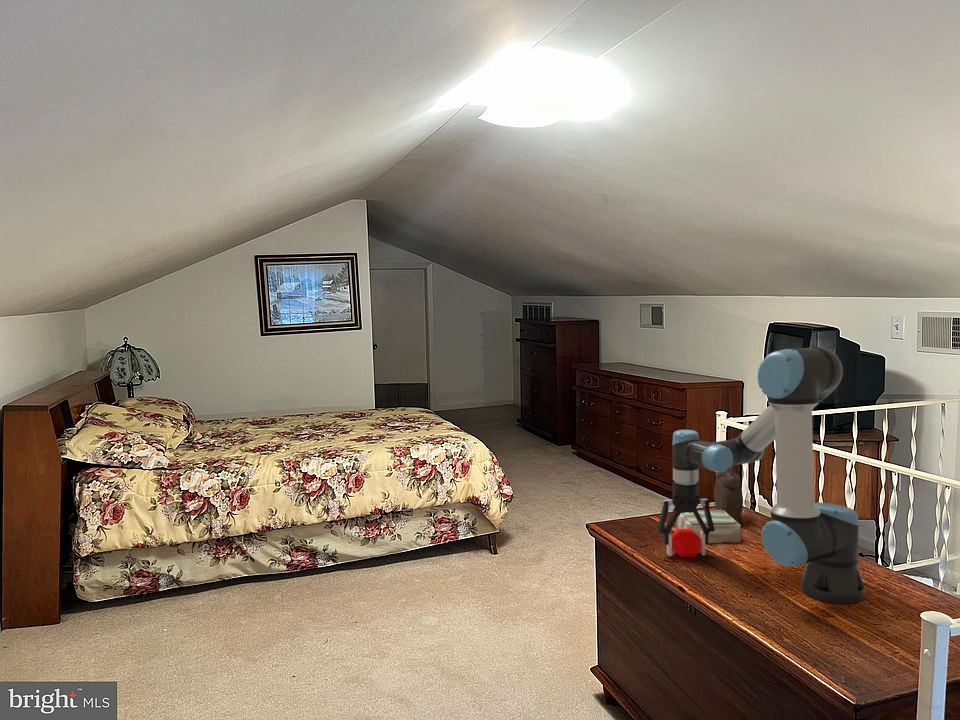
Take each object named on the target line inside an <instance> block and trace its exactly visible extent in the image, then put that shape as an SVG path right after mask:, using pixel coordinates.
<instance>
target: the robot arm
mask: <svg viewBox="0 0 960 720" xmlns="http://www.w3.org/2000/svg"><path fill="white" fill-rule="evenodd" d="M843 372H844V369H843V365H842V363H841V360H840V358H839V357H838V355H836V353H834V352H833V351H832V350H830V349H827V348H824V347H821V346H814V347H813V346H812V347H811V346H810V347H803V348H787V349H786V348H785V349H781V350H776V351H773V352H771V353H769V354H768V355H766V356H765V358H764V359H763V360H762V361H761V362H760V364H759V366H758V369H757V384H758V386H759V388H760V389H761V392H762V393H763V394H764V395H765V396H767V400H768V401H767V402H768V403H767V404H768V406H767V407H766V408H765V409H764V410H763V411H762V412H761V413H760V414H759V415H757V417H756V418H755V419H754V420H753V421H751V423H750V424H749V425H748V426H747V427H746V428H745V429H744V430H743V431H742V432H741V433H740V434H739V435H738V436H736V437H735V438H733V439H726V440H719V441H712V442H709V441H703V440H700V437H699V432H698V431H696V430H694V429H692V430H691V429H678V430H675V431H674V432H673V433H672V443H671V447H672V480H673V482H672V497H671V499H666V498H663V499H662V509H661V513H660V517H659V520H658V525H657V531H658V532H659V533H660V534H663V544H664V545H665V546H666V554H667V555H668V557H672V555H673V554H672V553H673V551H672V550H673V548H672V533H671V531H672V529H673V527H674V525H675V524H676V523H677V518H678V516H679V515H680V514H681V513H686V512H688V513H692V512H693V514H694V516H695V517H696V519H697V521H698V523H699V525H700V526H701V528H702V530H703V532H702V531H700V538H701V551H700V552H699V553H700V554H701V555H702V556H706V545H707V544H709V543H708V534H709V533H710V532H711V531H712V532H713V531H715V528H714V524H713V521H712V517H711V513H710V510H711V508H710V502H711V501H710V500H709V499H708V498H706V497H703V498H700V496H699V495H700V494H699V493H700V491H699V490H700V488H699V487H700V485H699V484H700V483H698V482H699V481H700V480H699V479H700V477H699V476H700V475H699V474H700V473H699V471H700V470H699V468H703V469H706V470H708V471H711V472H725V471H726V470H727V469H729V468H730V467H731V466H732V467H733V466H738V465H744V464H752V463H755V462H758V461H761V459H763V457H764V455H765V452H766V451H765V448H767V447H768V446H769V445H770V444H771V443H772V442H773V441H774V440H775V473H776V474H775V476H776V477H775V478H776V479H775V480H776V503H775V504H774V505H773V506H772V507H771V508H770V521H767V522H766V523H765V524H764V525H763V526H762V529H761V533H760V535H761V536H760V537H761V542H762V546H763V548H764V550H765V552H766V553H767V554H768V555H769V557H770V558H771V559H772V561H774V562H776V563H777V564H779V565H780V566H783V567H788V568H789V567H790V568H791V567H801V566H803V565H805V564H806V566H805V568H804V571H803V574H802V577H801V580H800V589H801V591H802V592H803V593H804V594H805V595H806V596H808V597H810V598H813V599H816V600H819V601H822V602H827V603H831V604H833V603H834V604H854V603H859V602H861V601H862V600H864V599H865V596H866V594H865V593H866V592H865V591H866V588H865V587H866V586H865V585H864V581H863V579H862V576H861V572H860V569H859V564H858V563H859V562H858V560H859V559H858V557H859V527H860V524H859V514H858V513H857V512H856V511H855V510H854V509H853V508H850V507H847V506H845V505H841V504H835V503H829V502H828V503H827V502H815V500H814V498H815V496H814V495H815V492H814V489H815V487H814V446H813V445H814V443H813V441H814V440H813V410H814V409H815V407H817V405H819V402H823V401H824V400H825V399H826V398H828V396H830V395H831V394H832V393H833V392H834V391H835V390H836V389H837V387H838V386H839V384H841V382H842V380H843V379H842V378H843V374H844V373H843ZM672 505H673V506H674V508H673V509H672V513H671V514H670V516H669V518H668V520H667V517H668V513H669V509H670V507H671V506H672ZM699 505H701V506H702V510H704V513H705V517H706V521H707V524H708V527H706V525H705V524H704V522H703V520H702V518H701V516H700V515H699V512H698V511H699V510H698V509H697V507H698V506H699ZM666 521H667V522H666Z"/></svg>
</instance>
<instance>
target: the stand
mask: <svg viewBox="0 0 960 720" xmlns="http://www.w3.org/2000/svg"><path fill="white" fill-rule="evenodd" d="M697 511H698V512H699V515H700V516H701V518H702V520H703V522H704V524H705V525H706V527H708V524H707V521H706V517H705V513H704V509H701V510H697ZM710 513H711V517H712V521H713V524H714V528H715V531H713V532H712V531H711V532H710V533H709V534H708V544H718V543H719V544H723V543H722V542H729V543H741V535H742V534H741V532H742V531H741V527H742V526H741V524H740V523H739V521H738V522H737V521H736V519H735V518H732V517H731V516H730V515H729V514H727V513H726V512H725V511H724V510H716V509H712V510H711V509H710ZM677 529H692V530H693V531H694V532H695V533H696V534H697V535H698V536H699V537H700V531H702V532H703V530H702V528H701V526H700V525H699V523H698V521H697V519H696V517H695V516H694V514H693V512H692V513H688V512H686V513H681V514H680V515H679V516H678V518H677V520H676V530H677Z"/></svg>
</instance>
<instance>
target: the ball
mask: <svg viewBox="0 0 960 720" xmlns="http://www.w3.org/2000/svg"><path fill="white" fill-rule="evenodd" d="M671 535H672V550H673V551H674V552H675V553H676V554H677V556H679V557H680V558H683V557H689V558H695V557H697V555H698V554H699V553H700V551H701V538H700V537H699V536H698V535H697V534H696V533H695V532H694V531H693V530H692V529H677V528H676V530H675V531H674V532H673V533H671Z"/></svg>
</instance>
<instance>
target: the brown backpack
mask: <svg viewBox="0 0 960 720" xmlns="http://www.w3.org/2000/svg"><path fill="white" fill-rule="evenodd" d="M714 477H715V481H714V486H713V499H714V505H715V510H724V511H725V512H726V513H727V514H729V515H730V516H731V517H732V518H733V519H735V521H736V522H738V523H739V517H741V515H742V512H743V508H744V496H743V495H744V494H743V489H742V486H741V477H740V476H739V475H738V473H735V472H734V469H733V466H731V467H730V468H728V469H727V470H726V471H725V472H717V471H715V475H714Z"/></svg>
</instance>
